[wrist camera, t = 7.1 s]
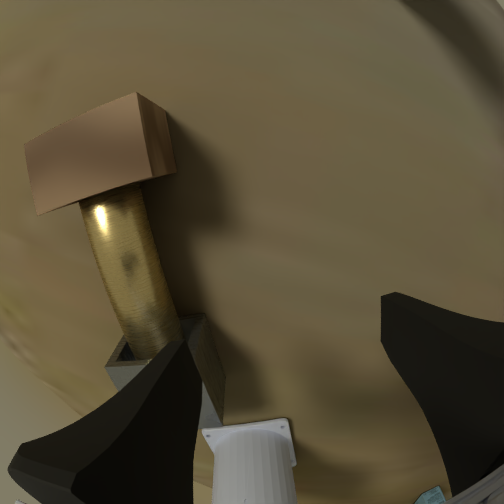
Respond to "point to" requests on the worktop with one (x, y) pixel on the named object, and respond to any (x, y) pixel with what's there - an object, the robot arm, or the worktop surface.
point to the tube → (131, 268)
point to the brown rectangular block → (99, 152)
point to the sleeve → (205, 357)
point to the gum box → (431, 497)
